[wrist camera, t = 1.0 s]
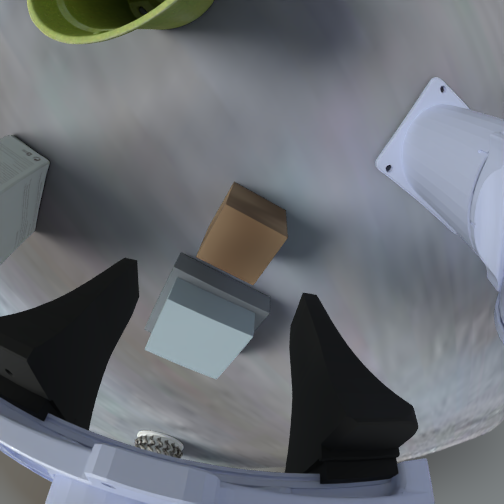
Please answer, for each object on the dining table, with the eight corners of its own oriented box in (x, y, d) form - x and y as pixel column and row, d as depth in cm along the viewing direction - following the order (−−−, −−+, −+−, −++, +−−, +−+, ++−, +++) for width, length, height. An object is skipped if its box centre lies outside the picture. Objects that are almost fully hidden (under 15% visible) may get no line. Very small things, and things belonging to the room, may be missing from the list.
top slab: (255, 313, 23) (253, 336, 21) (220, 357, 26) (216, 379, 24) (177, 277, 22) (167, 298, 20) (153, 328, 25) (144, 349, 23)
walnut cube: (285, 210, 21) (287, 237, 17) (256, 252, 23) (253, 285, 19) (234, 181, 20) (225, 204, 17) (208, 227, 22) (196, 256, 19)
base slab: (270, 293, 25) (269, 313, 23) (227, 345, 29) (223, 365, 27) (182, 248, 24) (173, 266, 22) (152, 311, 27) (144, 329, 25)
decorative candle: (137, 442, 46) (108, 552, 25) (133, 423, 41) (96, 553, 20) (184, 454, 47) (162, 568, 25) (187, 438, 42) (160, 572, 20)
